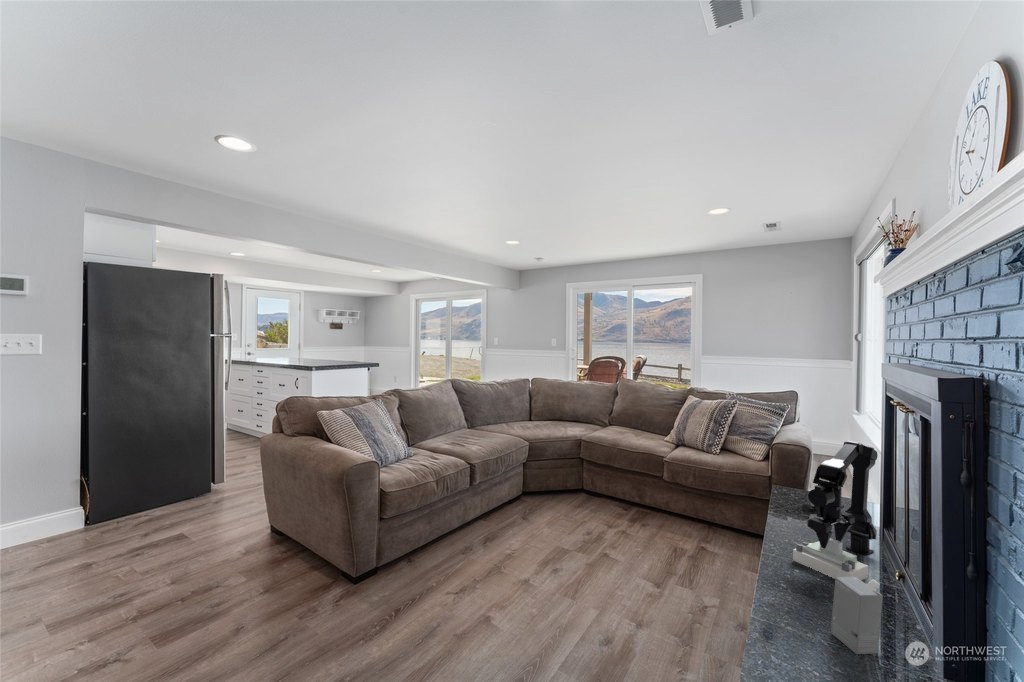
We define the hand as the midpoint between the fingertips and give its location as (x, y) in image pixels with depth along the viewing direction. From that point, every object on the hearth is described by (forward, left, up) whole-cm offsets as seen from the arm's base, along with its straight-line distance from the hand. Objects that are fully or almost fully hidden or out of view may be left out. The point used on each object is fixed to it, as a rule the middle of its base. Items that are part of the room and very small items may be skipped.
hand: (830, 545), depth 151 cm
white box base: (+1, 0, -8) cm, 8 cm away
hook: (+19, +18, -8) cm, 27 cm away
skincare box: (+36, +24, -8) cm, 44 cm away
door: (0, 0, -4) cm, 4 cm away
